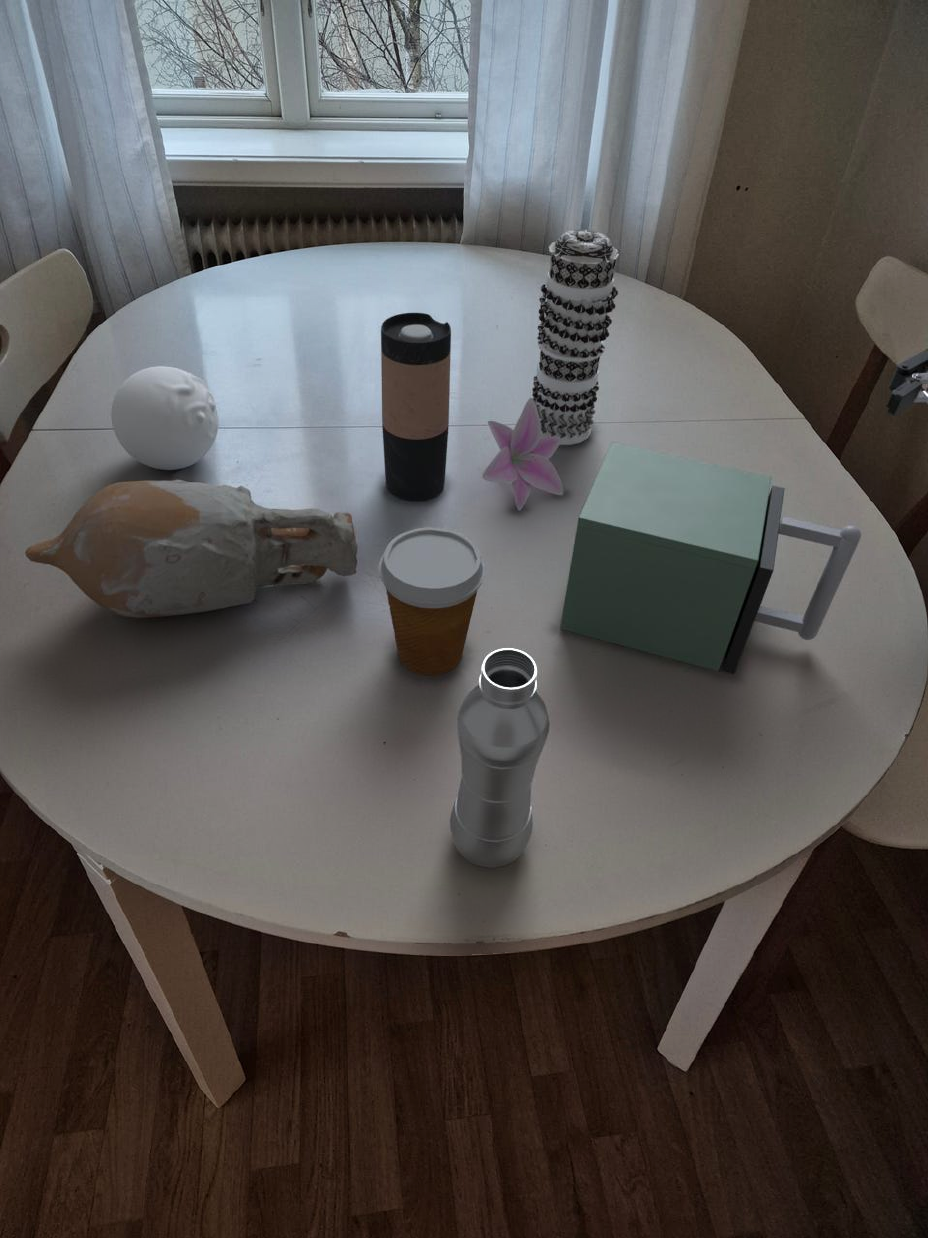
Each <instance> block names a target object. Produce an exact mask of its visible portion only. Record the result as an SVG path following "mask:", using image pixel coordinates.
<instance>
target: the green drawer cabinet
mask: <svg viewBox="0 0 928 1238" xmlns="http://www.w3.org/2000/svg"><path fill="white" fill-rule="evenodd" d="M771 484H772V476H770V475H765V474H761V473H755V472H751V471H747V470H743V469H738V468H733V467H729V466H725V465H719V464H715V463H711V462H706V461H701V460H697V459H692V458H688V457H682V456H678V455H674V454H669V453H665V452H660V451H656V450H652V449H647V448H641V447H637V446H634V445H629V444H623V443H619V442H614V441H611V442H610V444H609V447H608V449H607V451H606V454H605V456H604V458H603V460H602V462H601V465H600V468H599V469H598V472H597V474H596V476H595V479H594V480H593V483H592V486H591V488H590V490H589V493H588V495H587V498H586V500H585V502H584V505H583V507H582V509H581V511H580V514H579V516H578V519H577V526H576V532H575V535H574V536H575V538H574V543H573V549H572V553H571V554H572V555H571V561H570V566H569V572H568V579H567V585H566V591H565V596H564V602H563V609H562V614H561V620H560V621H561V622H560V628H559V629H560V630H563V631H566V632H570V633H573V634H578V635H582V636H584V637H589V638H593V639H596V640H599V641H604V642H606V643H607V642H608V643H611V644H615V645H619V646H623V647H626V648H628V649H629V648H630V649H633V650H637V651H641V652H644V653H648V654H652V655H655V656H659V657H662V658H667V659H671V660H674V661H678V662H681V663H685V664H689V665H693V666H696V667H700V668H703V669H707V670H712V671H715V672H719V671H720V668H721V665H722V664H723V661H724V657H725V652H726V649H727V647H728V644H729V641H730V638H731V635H732V633H733V630H734V627H735V624H736V621H737V619H738V616H739V613H740V610H741V608H742V605H743V602H744V599H745V596H746V594H747V591H748V588H749V585H750V582H751V580H752V577H753V574H754V571H755V568H756V566H757V563H758V559H759V553H760V547H761V540H762V534H763V528H764V522H765V515H766V509H767V503H768V497H769V494H770V491H771Z"/></svg>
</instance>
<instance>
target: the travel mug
mask: <svg viewBox="0 0 928 1238" xmlns="http://www.w3.org/2000/svg"><path fill="white" fill-rule="evenodd" d="M451 345H452V329H451V325H450V323H449V322H448V321H445V323H444V322H443V323H442V322H439V321H437V320H435V319H434V318H433V317H432V316H431V315H430V314H429V313H424V312H405V313H398V314H394V315H392V316H390V317H388V318H386V319H385V320H384V321H383V322H382V324H381V326H380V357H381V358H380V359H381V360H380V362H381V363H380V364H381V367H380V368H381V370H380V371H381V372H380V373H381V374H380V375H381V427H382V443H383V444H382V445H383V461H384V463H383V464H384V478H385V487H386V489H387V491H388V493H390V494H391V495H392V496H393V497H395V498H397V499H398V500H399V499H400V500H403V501H406V502H426V501H430V500H432V499H435V498H437V497H438V496H439V495H440V494H441V493H442V492H443V490H444V488H445V481H446V469H447V457H448V455H447V454H448V441H449V427H450V425H449V424H450V394H451V392H450V389H451V385H450V384H451V353H452V352H451V351H452V346H451Z"/></svg>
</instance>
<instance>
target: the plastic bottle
mask: <svg viewBox="0 0 928 1238" xmlns="http://www.w3.org/2000/svg"><path fill="white" fill-rule="evenodd" d="M480 671H481V673H480V675H479V678H478V679H479V680H478V685H476V686H475V687H474V688H473V689H472V690H470V691H469V692H468V694H467V695H466V696H465V698H464V700H463V702H462V704H461V705H460V708H459V710H458V714H457V736H458V742H459V743H458V744H459V750H460V756H461V759H460V760H461V763H460V765H461V779H460V784H459V788H458V792H457V796H456V798H455V801H454V803H453V805H452V809H451V813H450V818H449V827H450V832H451V837H452V841H453V845H454V846H455V848H456V850H457V851H458V853H459V854H460V855H461V856H462V857H463V858H464V859H465V860H467V861H468V862H469V863H471V864H473V865H476V866H478V867H483V868H490V869H491V868H492V869H493V868H500V867H504V866H507V865H509V864H512V863H513V862H515V861H516V860H517V859H518V858H519V857H520V856H521V855H522V854H523V853H524V851H525V849H526V847H528V846H527V845H528V843H529V841H530V839H531V837H532V833H533V825H534V823H533V809H532V808H533V807H532V784H533V780H534V776H535V773H536V768H537V765H538V762H539V759H540V757H541V755H542V754H541V753H542V751H543V749H544V747H545V744H546V742H547V739H548V735H549V731H550V717H549V713H548V709H547V706H546V703H545V702H544V700H543V698H542V697H541V695H540V694H539V693H538V692H537V685H538V683H537V676H538V669H537V664H536V662H535V660H534V659H533V658H532V657H531V656H530V654H528V653H526V652H525V651H523V650H520V649H516V648H512V647H511V648H510V647H508V648H507V647H506V648H505V647H504V648H499V649H496V650H494V651H491V652H490V653H489V654H488V655H487V656H485V658H484V660H483V662H482V664H481V670H480Z"/></svg>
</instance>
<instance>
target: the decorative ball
mask: <svg viewBox="0 0 928 1238" xmlns="http://www.w3.org/2000/svg"><path fill="white" fill-rule="evenodd" d="M110 417H111V418H110V419H111V424H112V425H111V426H112V428H113V432H114V434H115V437H116V438H117V441H118V442H119V444H120V446H121V447H122V448H123V449H124V451H125V452H126V453H127V454H128V455H129V456H131V458H133V459H134V460H136V461H137V462H139V463H141V464H142V465H145V466H147V467H149V468H153V469H157V470H163V471H174V470H180V469H184V468H187V467H190V466H192V465H194V464H196V463H197V462H199V461H200V460H201V459H203V458H204V457H205V456H206V455H207V454H208V452H209V451H210V450H211V449H212V447H213V445H214V443H215V441H216V437H217V435H218V430H219V424H220V423H219V414H218V409H217V405H216V402H215V399H214V396H213V395H212V393H211V392H210V391H209V390H208V387H207V385H206V383H205V382H204V380H203V379H201V378H200V377H198V376H195V375H194V374H193V373H190V372H189V371H186V370H183V369H181V368H179V367H178V368H177V367H173V366H166V365H165V366H164V365H159V366H150V367H145V368H143V369H140V370H138V371H136V372H134V373H133V374H130V375H129V376H128V377H127V378H126V379H125V380H124V381H123V382H122V383H121V384H120V386H119V387H118V389H117V390H116V393H115V395H114V397H113V399H112V404H111V413H110Z"/></svg>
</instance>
